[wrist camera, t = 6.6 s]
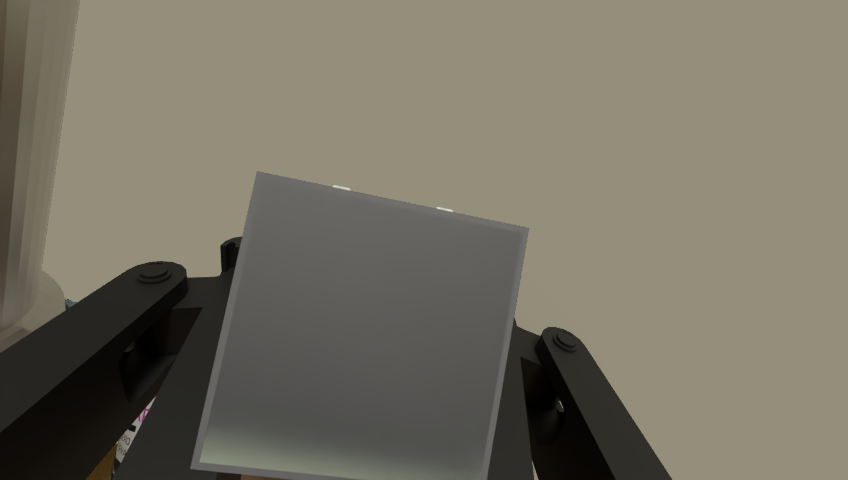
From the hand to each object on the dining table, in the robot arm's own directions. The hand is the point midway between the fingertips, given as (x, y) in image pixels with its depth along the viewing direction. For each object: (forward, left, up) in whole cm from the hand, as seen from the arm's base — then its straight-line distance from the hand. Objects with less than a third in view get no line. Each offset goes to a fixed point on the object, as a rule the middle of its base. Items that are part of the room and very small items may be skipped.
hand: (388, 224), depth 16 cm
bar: (-3, +3, -5) cm, 6 cm away
